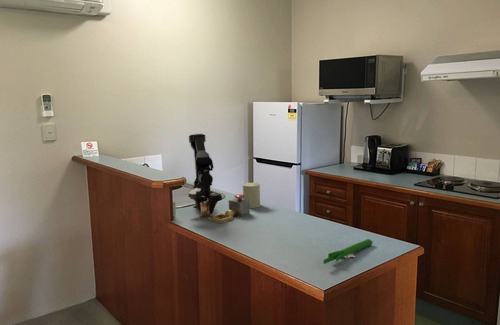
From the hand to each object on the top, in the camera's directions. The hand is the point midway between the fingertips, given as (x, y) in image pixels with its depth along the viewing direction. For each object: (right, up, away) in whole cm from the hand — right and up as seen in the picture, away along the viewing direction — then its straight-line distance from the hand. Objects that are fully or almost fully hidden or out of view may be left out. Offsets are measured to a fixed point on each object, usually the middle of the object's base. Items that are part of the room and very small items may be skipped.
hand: (205, 212), depth 199 cm
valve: (+15, -1, 0) cm, 15 cm away
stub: (0, -2, 0) cm, 2 cm away
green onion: (+57, -9, -56) cm, 80 cm away
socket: (+8, -2, -7) cm, 11 cm away
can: (+23, +2, +17) cm, 28 cm away
